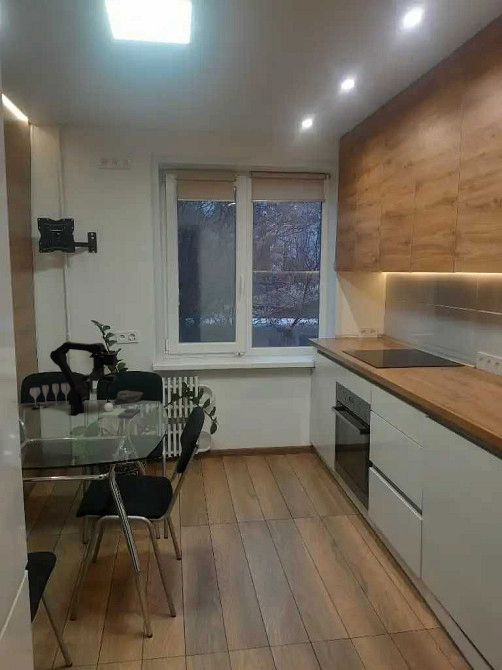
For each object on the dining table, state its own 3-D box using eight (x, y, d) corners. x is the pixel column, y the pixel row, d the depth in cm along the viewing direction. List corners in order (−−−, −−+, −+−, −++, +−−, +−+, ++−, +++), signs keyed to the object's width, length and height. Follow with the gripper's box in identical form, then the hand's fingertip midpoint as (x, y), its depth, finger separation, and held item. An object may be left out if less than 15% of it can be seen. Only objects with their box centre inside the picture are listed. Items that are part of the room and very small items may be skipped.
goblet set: (79, 402, 306) (78, 381, 304) (80, 404, 300) (80, 382, 299) (30, 407, 293) (29, 385, 292) (30, 409, 288) (29, 387, 287)
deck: (100, 417, 271) (100, 414, 271) (110, 410, 285) (110, 408, 285) (132, 418, 269) (131, 415, 269) (140, 411, 283) (140, 409, 283)
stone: (117, 402, 290) (114, 387, 295) (113, 408, 296) (111, 393, 301) (147, 400, 300) (144, 385, 305) (142, 406, 306) (139, 392, 311)
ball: (112, 411, 275) (103, 413, 276) (115, 409, 280) (107, 411, 281) (109, 403, 275) (101, 404, 275) (113, 400, 279) (105, 402, 280)
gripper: (76, 367, 269) (77, 395, 270) (109, 368, 267) (110, 396, 268) (85, 364, 280) (86, 391, 281) (116, 365, 278) (117, 392, 279)
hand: (99, 393), depth 277 cm, fingers open, 9 cm apart
